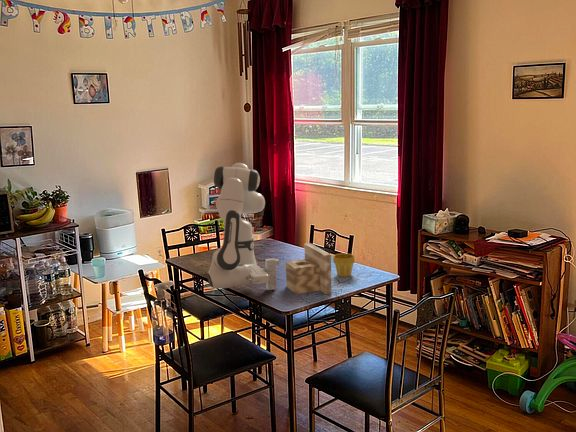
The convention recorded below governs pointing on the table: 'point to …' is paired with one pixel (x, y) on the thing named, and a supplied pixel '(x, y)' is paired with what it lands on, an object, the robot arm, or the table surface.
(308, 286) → the tan blocky piece
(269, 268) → the grey brown tall block
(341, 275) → the plant pot
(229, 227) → the robot arm
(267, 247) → the table surface
